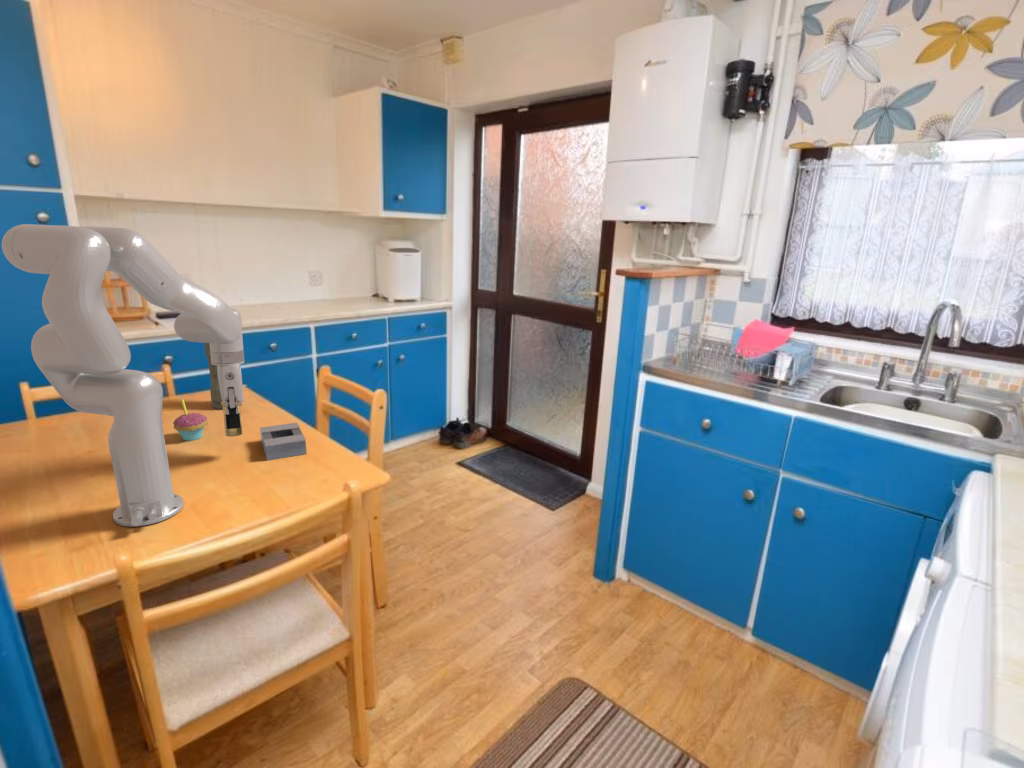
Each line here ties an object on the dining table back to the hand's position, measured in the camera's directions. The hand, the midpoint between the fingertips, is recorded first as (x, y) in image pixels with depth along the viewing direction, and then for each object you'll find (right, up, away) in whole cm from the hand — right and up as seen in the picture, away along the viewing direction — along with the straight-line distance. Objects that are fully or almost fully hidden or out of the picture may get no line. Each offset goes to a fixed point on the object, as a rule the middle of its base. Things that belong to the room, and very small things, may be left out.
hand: (233, 424), depth 141 cm
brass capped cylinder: (0, -2, +1) cm, 3 cm away
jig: (+9, -7, +9) cm, 15 cm away
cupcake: (-19, -5, +13) cm, 23 cm away
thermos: (-23, +3, +40) cm, 46 cm away
